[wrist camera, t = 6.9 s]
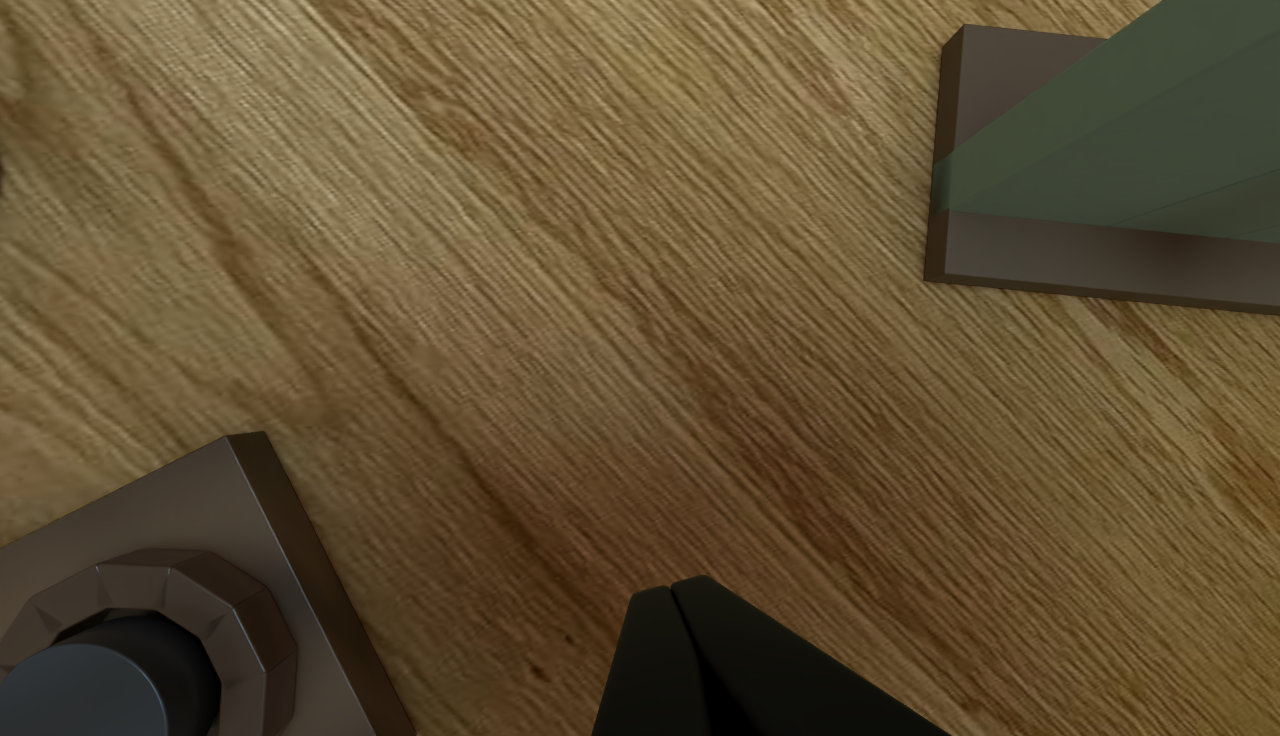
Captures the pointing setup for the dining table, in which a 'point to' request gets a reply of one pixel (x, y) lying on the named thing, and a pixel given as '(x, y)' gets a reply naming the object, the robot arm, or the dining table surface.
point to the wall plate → (1114, 159)
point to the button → (112, 684)
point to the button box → (210, 592)
